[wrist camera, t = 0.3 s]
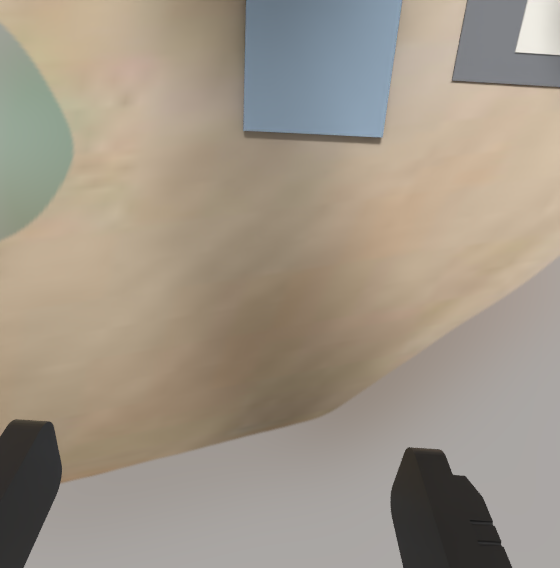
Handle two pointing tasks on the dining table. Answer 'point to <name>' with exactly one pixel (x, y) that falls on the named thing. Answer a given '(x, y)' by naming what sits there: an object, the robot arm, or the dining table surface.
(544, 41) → the label mat
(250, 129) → the pad
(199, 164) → the dining table surface
